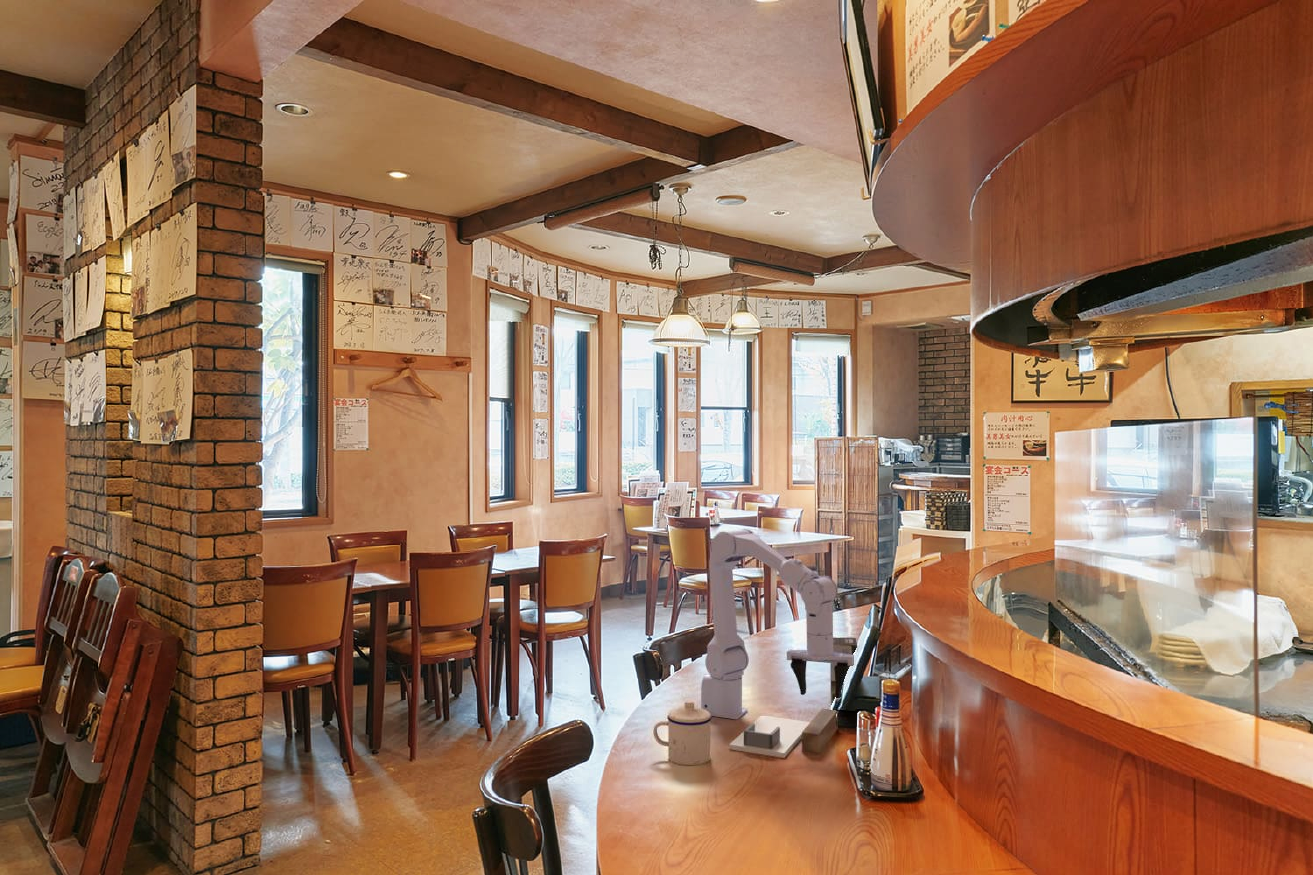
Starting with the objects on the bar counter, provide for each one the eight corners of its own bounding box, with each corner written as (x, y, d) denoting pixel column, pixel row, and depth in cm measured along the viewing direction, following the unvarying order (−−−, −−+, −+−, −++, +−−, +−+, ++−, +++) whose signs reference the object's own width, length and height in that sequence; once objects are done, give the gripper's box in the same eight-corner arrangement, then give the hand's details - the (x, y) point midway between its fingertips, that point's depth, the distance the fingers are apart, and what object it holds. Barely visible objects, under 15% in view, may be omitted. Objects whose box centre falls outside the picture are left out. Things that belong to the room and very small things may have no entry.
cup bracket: (729, 749, 187) (729, 730, 187) (761, 719, 207) (761, 702, 207) (784, 757, 182) (784, 738, 182) (811, 726, 202) (811, 709, 202)
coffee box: (857, 712, 212) (857, 645, 213) (830, 710, 214) (830, 644, 214) (856, 701, 221) (856, 637, 221) (830, 699, 223) (830, 635, 223)
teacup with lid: (713, 751, 185) (713, 696, 185) (709, 767, 176) (709, 709, 176) (656, 748, 187) (656, 693, 187) (650, 764, 178) (650, 706, 178)
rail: (801, 753, 185) (801, 731, 185) (822, 728, 202) (822, 708, 202) (818, 755, 184) (818, 734, 184) (837, 730, 200) (837, 710, 200)
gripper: (782, 634, 192) (783, 696, 192) (849, 639, 186) (850, 703, 186) (791, 628, 199) (791, 688, 199) (855, 632, 193) (856, 695, 193)
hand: (820, 695), depth 193 cm, fingers open, 7 cm apart
